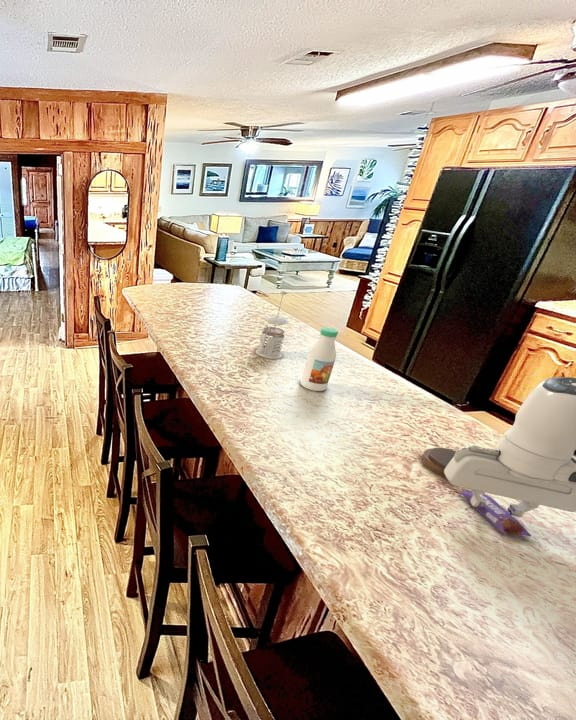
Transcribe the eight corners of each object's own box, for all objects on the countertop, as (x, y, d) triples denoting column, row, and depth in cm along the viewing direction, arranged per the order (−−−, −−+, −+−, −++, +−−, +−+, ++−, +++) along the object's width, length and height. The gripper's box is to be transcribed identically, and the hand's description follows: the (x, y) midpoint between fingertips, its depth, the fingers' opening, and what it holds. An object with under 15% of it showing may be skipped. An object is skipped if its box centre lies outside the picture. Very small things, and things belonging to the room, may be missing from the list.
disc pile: (462, 461, 95) (467, 451, 94) (480, 487, 87) (486, 477, 86) (415, 451, 98) (420, 441, 97) (429, 475, 90) (434, 465, 89)
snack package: (460, 487, 84) (484, 488, 84) (456, 493, 85) (479, 495, 85) (507, 531, 74) (535, 532, 74) (502, 538, 75) (529, 539, 75)
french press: (287, 355, 149) (304, 292, 138) (269, 362, 143) (285, 297, 132) (265, 346, 157) (279, 286, 146) (247, 352, 151) (260, 290, 140)
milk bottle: (296, 385, 128) (312, 329, 119) (304, 377, 133) (320, 323, 124) (322, 394, 123) (340, 336, 114) (328, 385, 128) (347, 329, 119)
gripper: (468, 452, 74) (439, 505, 80) (613, 482, 67) (569, 537, 73) (454, 434, 79) (428, 485, 85) (588, 460, 73) (549, 513, 79)
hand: (494, 509), depth 79 cm, fingers closed on snack package, 5 cm apart
